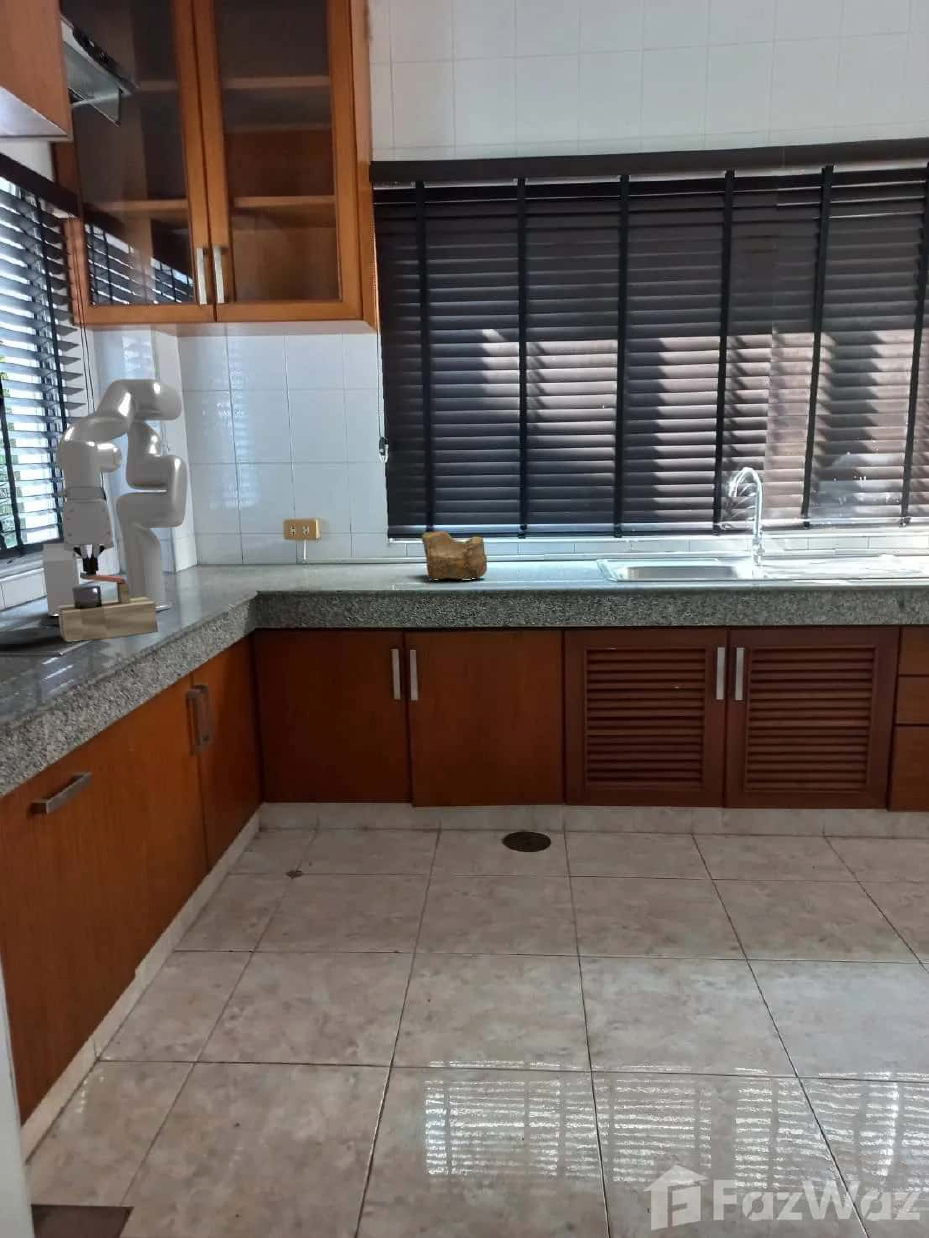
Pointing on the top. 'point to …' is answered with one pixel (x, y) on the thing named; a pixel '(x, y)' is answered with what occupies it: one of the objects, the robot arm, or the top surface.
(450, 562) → the rough brown rock
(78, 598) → the dark grey metal block
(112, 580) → the keeper bar
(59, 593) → the milk carton
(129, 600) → the block
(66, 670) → the top surface
